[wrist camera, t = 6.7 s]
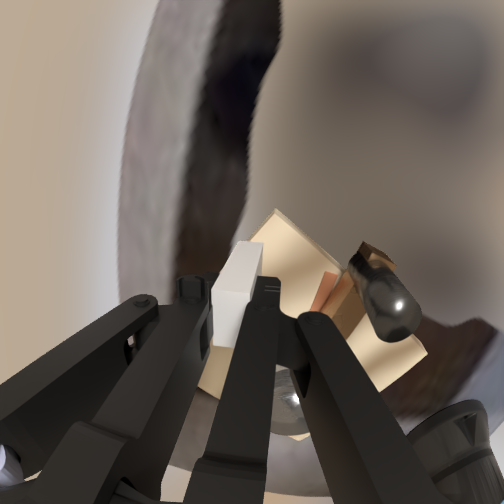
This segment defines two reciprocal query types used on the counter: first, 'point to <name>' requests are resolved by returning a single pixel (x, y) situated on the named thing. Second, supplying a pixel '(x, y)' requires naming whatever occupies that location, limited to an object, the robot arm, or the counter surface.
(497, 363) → the counter surface
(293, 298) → the stand
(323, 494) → the counter surface
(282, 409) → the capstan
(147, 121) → the counter surface
